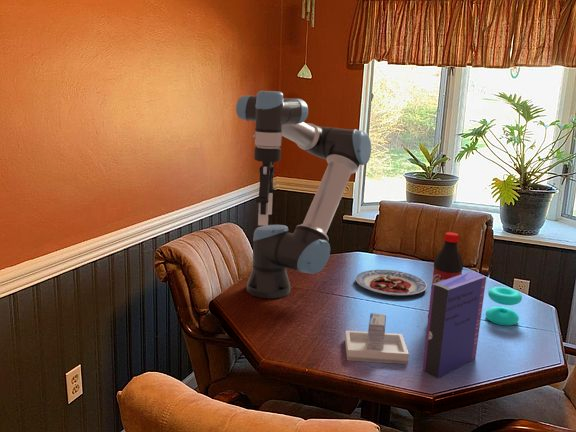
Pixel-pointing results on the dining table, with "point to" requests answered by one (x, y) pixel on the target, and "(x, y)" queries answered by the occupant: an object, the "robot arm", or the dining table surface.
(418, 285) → the ceramic plate
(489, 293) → the donuts
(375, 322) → the medicine box
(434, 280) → the cola bottle
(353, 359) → the tray
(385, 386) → the dining table surface
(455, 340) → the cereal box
